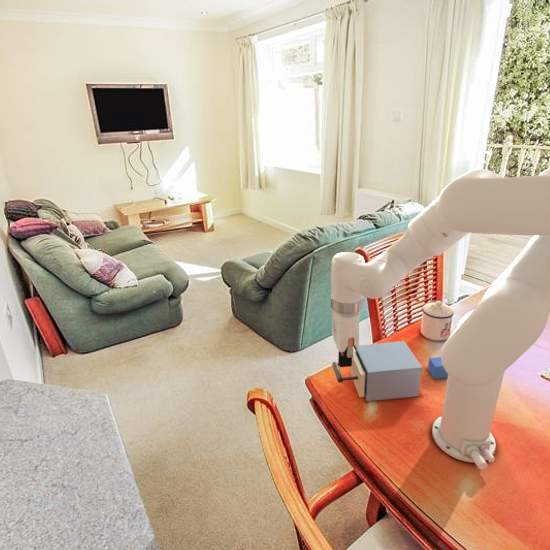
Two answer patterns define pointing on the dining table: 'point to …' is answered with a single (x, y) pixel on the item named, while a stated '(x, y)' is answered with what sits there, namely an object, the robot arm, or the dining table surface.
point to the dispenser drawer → (354, 374)
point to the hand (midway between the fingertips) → (345, 364)
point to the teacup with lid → (436, 321)
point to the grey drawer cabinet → (390, 371)
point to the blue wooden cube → (437, 368)
